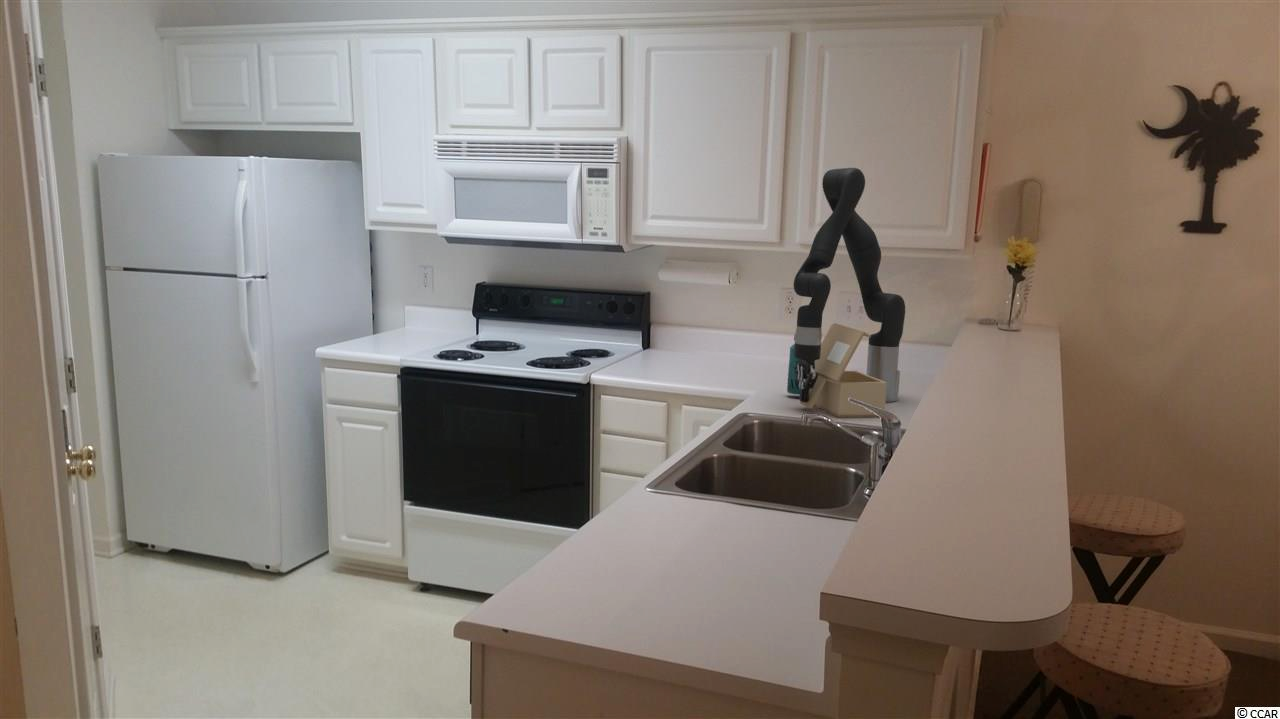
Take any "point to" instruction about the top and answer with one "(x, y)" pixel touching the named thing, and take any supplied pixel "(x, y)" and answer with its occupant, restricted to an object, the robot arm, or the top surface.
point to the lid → (834, 357)
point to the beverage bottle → (792, 373)
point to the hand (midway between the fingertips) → (803, 401)
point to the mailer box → (852, 395)
